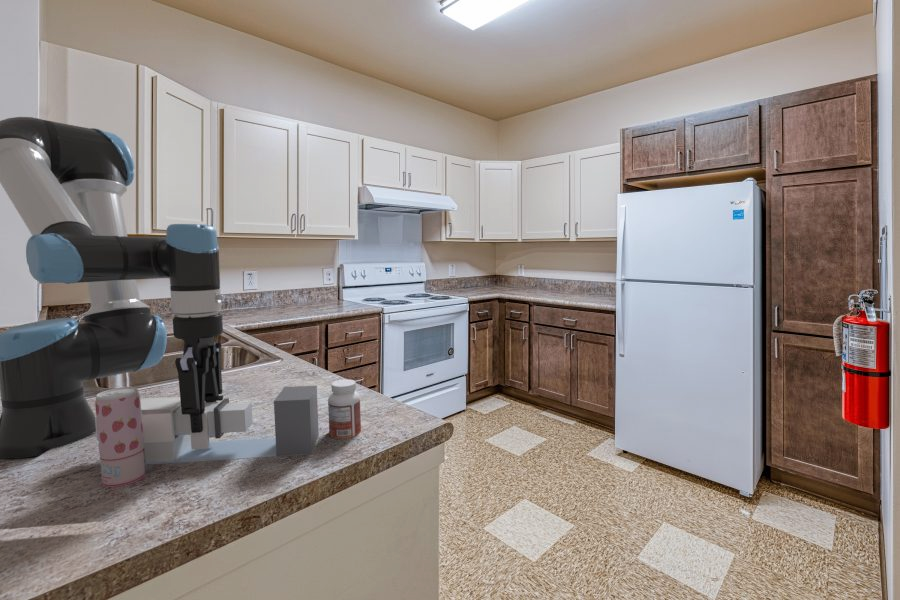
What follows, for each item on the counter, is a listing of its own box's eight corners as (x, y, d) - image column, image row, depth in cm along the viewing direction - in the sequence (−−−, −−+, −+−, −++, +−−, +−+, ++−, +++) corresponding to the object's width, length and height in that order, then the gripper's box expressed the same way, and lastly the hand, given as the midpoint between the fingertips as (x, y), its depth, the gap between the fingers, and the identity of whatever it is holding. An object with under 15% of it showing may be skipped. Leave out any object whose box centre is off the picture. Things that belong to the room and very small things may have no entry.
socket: (276, 456, 77) (273, 401, 76) (286, 437, 85) (284, 386, 84) (311, 453, 78) (309, 399, 77) (318, 435, 86) (316, 385, 85)
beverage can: (93, 489, 68) (84, 396, 66) (128, 472, 74) (121, 385, 72) (121, 495, 67) (113, 399, 65) (155, 476, 72) (148, 388, 70)
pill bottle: (349, 427, 92) (348, 376, 91) (367, 436, 88) (366, 382, 87) (323, 436, 87) (321, 382, 86) (340, 446, 83) (338, 389, 82)
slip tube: (94, 445, 74) (91, 414, 73) (114, 432, 79) (111, 403, 79) (244, 436, 77) (243, 407, 77) (253, 424, 83) (252, 397, 82)
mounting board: (114, 472, 74) (114, 466, 73) (141, 450, 81) (140, 445, 81) (311, 459, 78) (311, 453, 78) (318, 440, 86) (318, 435, 86)
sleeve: (116, 464, 74) (112, 411, 73) (138, 447, 81) (134, 398, 80) (174, 460, 75) (170, 408, 74) (191, 444, 82) (187, 395, 81)
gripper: (200, 321, 69) (209, 463, 71) (236, 307, 85) (243, 422, 88) (148, 322, 67) (159, 466, 70) (195, 307, 84) (203, 424, 87)
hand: (206, 441), depth 79 cm, fingers closed on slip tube, 4 cm apart
